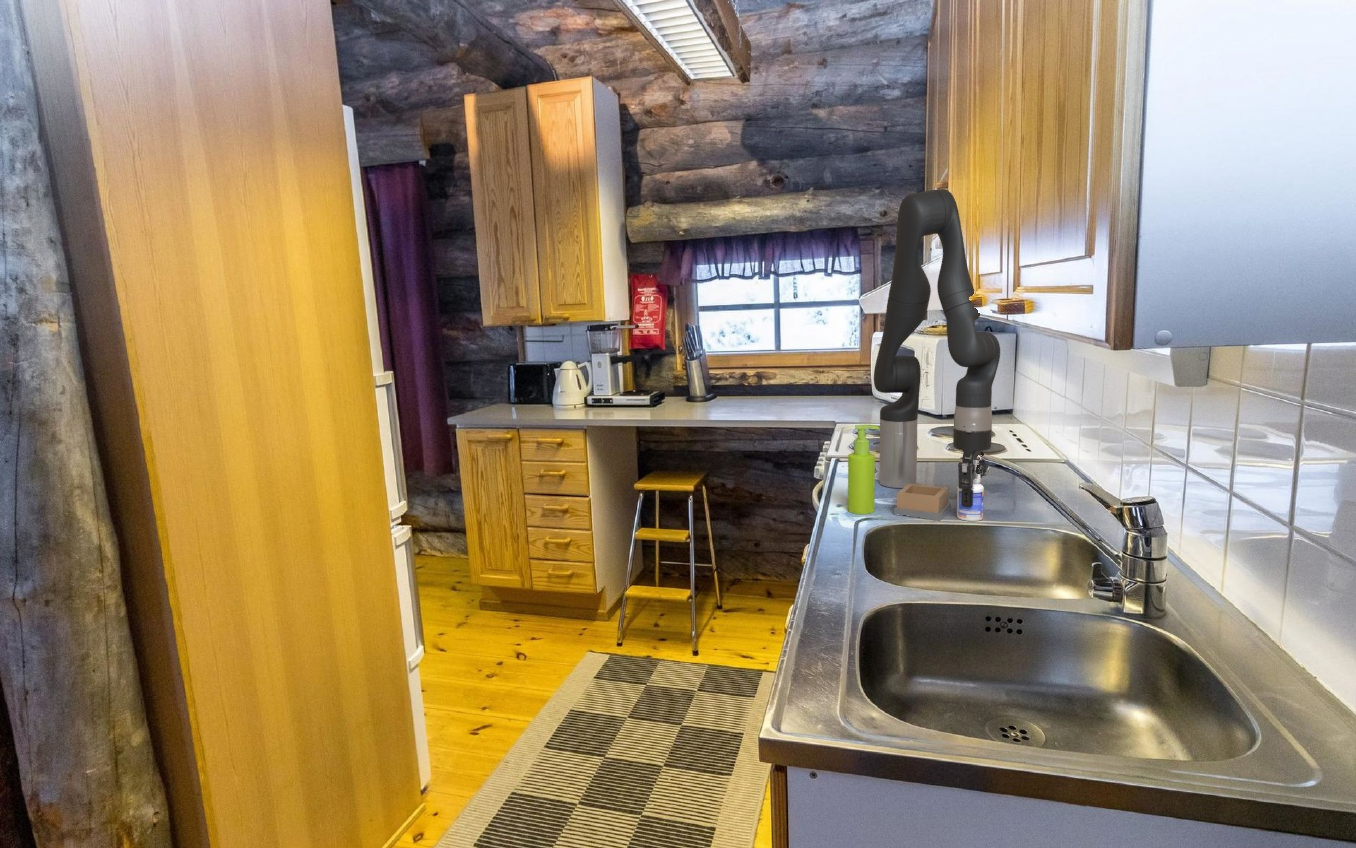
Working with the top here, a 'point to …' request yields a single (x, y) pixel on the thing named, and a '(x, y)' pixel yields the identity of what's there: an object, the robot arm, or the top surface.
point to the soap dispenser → (861, 474)
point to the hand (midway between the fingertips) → (970, 502)
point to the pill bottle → (978, 500)
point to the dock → (923, 501)
